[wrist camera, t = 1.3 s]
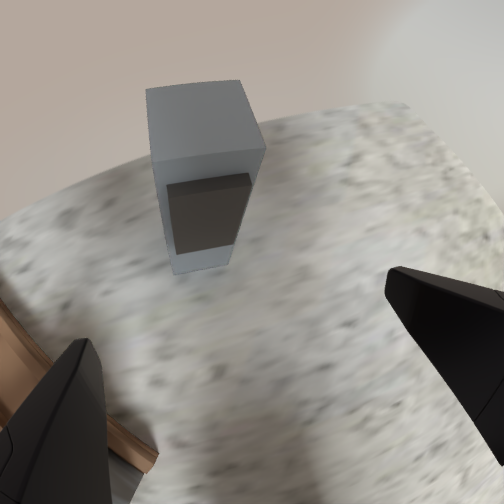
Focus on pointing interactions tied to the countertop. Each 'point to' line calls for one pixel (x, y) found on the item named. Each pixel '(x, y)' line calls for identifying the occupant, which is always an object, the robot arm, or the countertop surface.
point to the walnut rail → (27, 377)
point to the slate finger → (202, 167)
